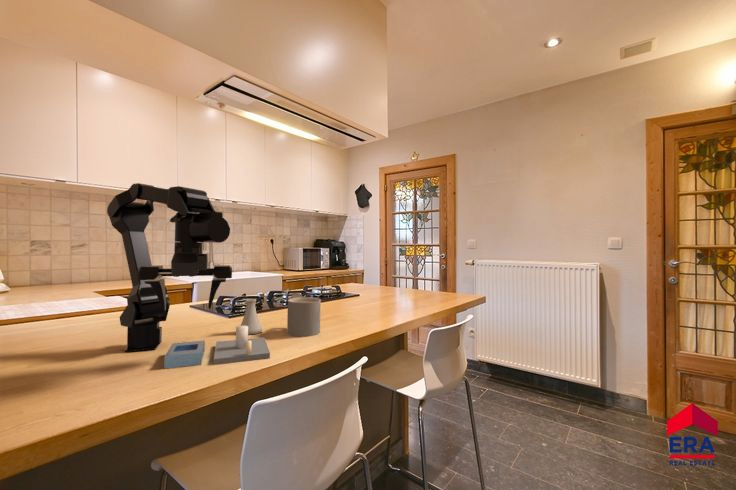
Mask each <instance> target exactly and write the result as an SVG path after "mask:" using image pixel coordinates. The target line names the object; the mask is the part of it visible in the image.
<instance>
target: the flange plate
mask: <svg viewBox="0 0 736 490" xmlns="http://www.w3.org/2000/svg"><path fill="white" fill-rule="evenodd" d="M205 351H206V341H205V340H194V341H183V342H172V344H170V347H169V348H168V349H167V351H166V353H165V355H164V365H163V366H164V367H163V368H164V369H172V368H181V367H182V368H183V367H191V366H198V365H202V363H203V358H204V354H205Z"/></svg>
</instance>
